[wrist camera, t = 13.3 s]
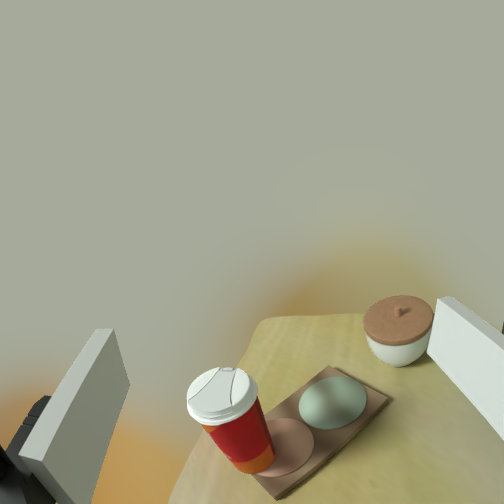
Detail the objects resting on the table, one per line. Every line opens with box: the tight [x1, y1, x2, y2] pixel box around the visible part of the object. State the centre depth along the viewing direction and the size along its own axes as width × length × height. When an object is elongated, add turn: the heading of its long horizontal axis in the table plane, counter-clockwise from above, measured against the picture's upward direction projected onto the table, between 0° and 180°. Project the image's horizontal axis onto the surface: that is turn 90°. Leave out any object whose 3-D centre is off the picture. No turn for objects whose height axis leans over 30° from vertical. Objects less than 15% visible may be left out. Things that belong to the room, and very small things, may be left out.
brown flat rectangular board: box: [251, 365, 388, 500], centre depth 39 cm, size 20×12×2 cm, turn 124°
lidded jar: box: [363, 296, 433, 367], centre depth 44 cm, size 11×11×9 cm
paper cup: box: [187, 367, 275, 474], centre depth 33 cm, size 8×8×14 cm
